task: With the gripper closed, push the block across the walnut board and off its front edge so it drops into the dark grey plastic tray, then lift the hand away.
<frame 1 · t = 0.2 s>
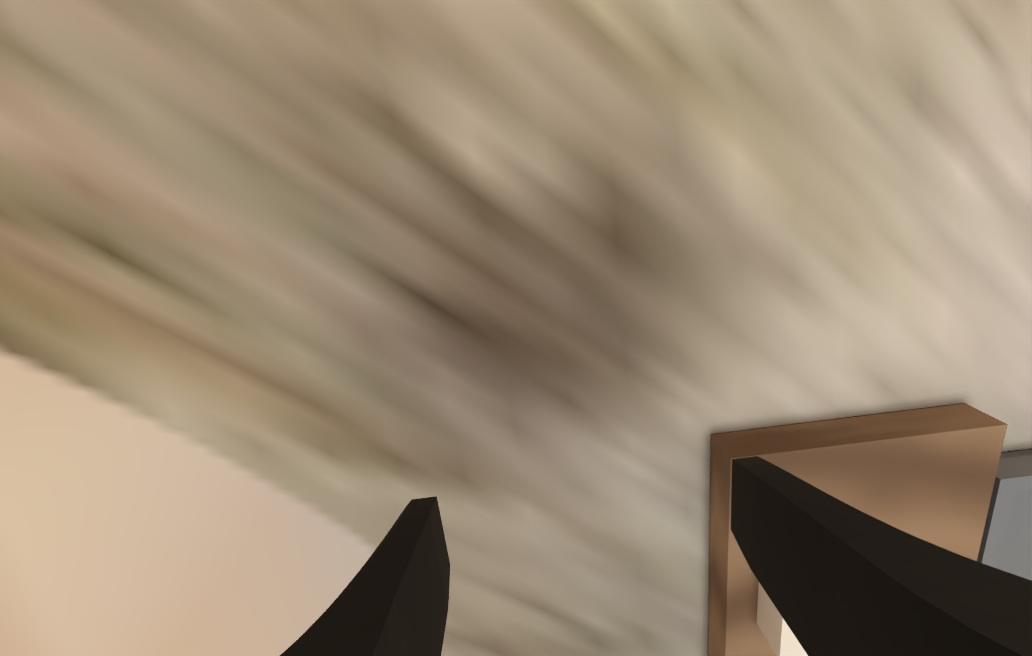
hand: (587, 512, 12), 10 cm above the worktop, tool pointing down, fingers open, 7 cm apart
block: (811, 575, 23), point 2 cm above the worktop, touching board
board: (822, 571, 26), on the worktop
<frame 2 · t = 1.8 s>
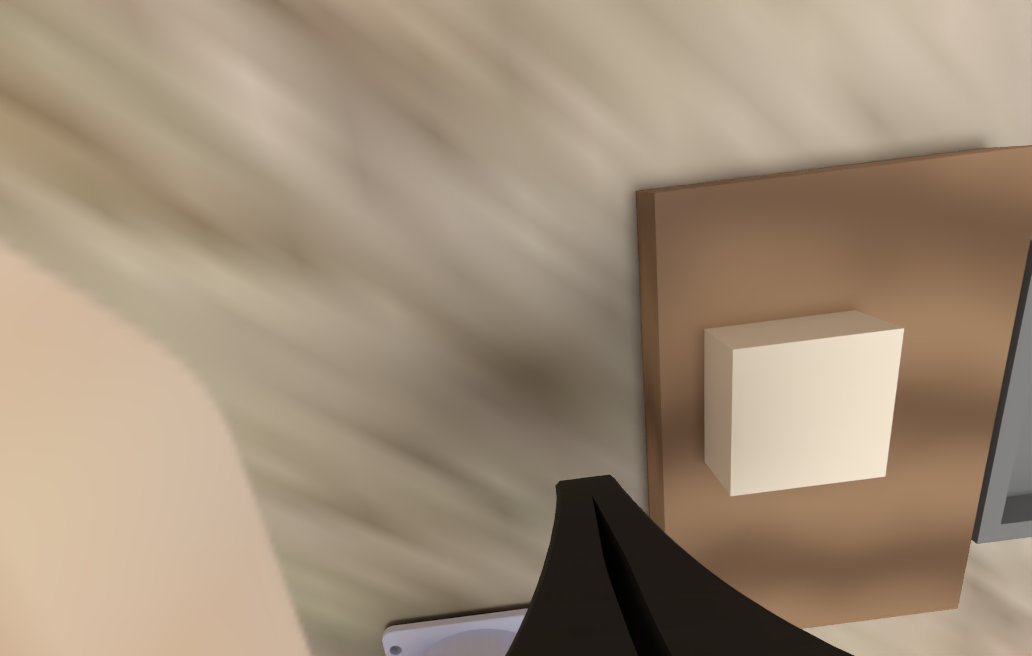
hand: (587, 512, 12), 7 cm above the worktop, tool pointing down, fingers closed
block: (776, 389, 17), point 2 cm above the worktop, touching board
board: (796, 407, 19), on the worktop
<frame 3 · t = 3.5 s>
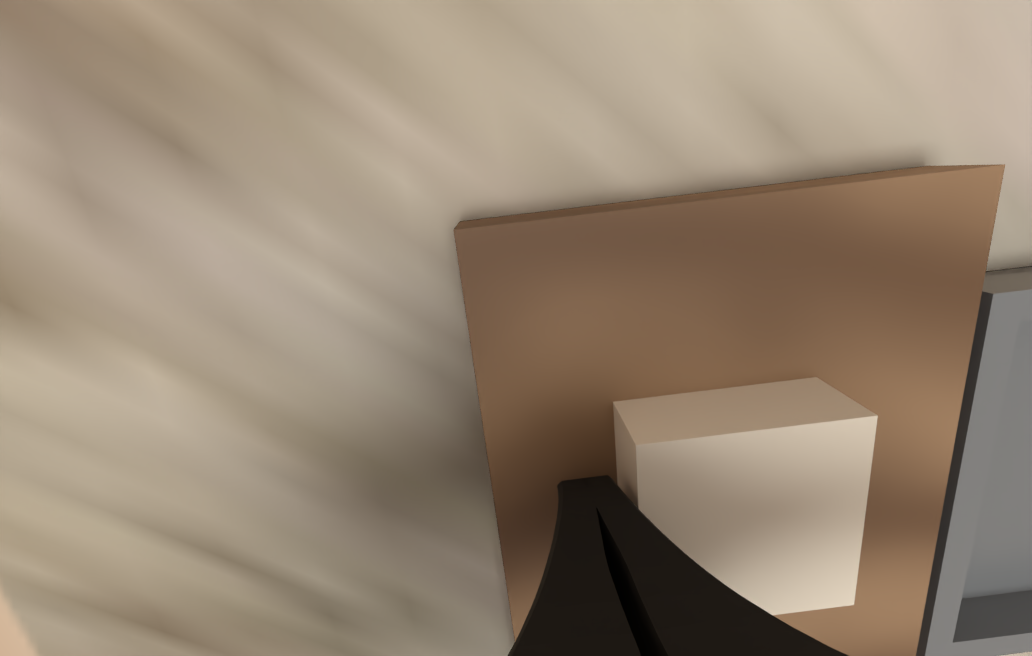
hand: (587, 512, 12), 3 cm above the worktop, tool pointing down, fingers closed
block: (713, 477, 13), point 2 cm above the worktop, touching board, gripper
board: (694, 492, 15), on the worktop
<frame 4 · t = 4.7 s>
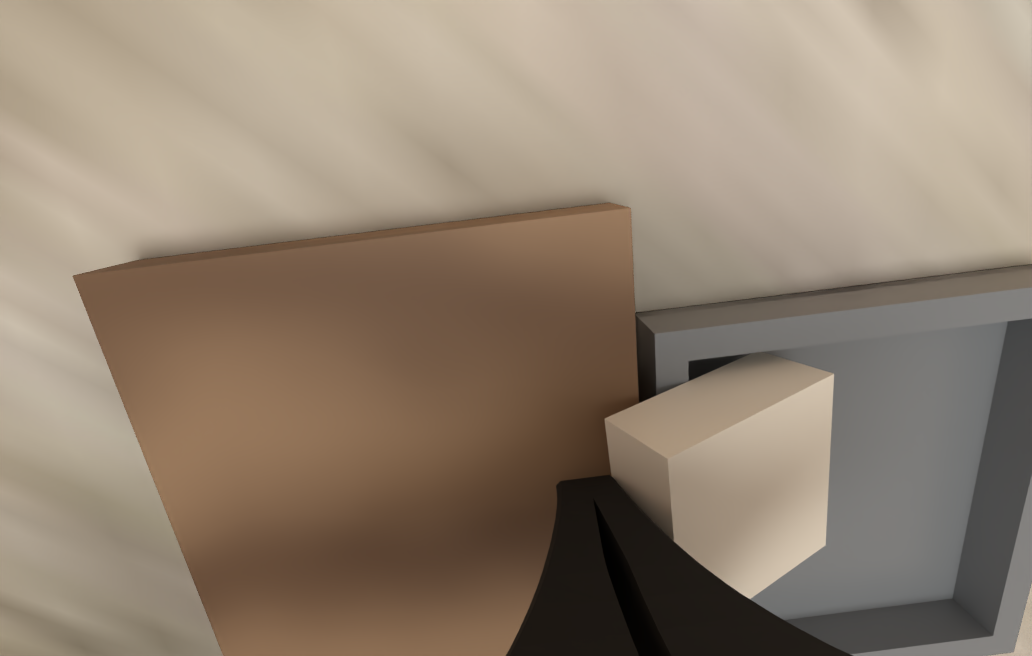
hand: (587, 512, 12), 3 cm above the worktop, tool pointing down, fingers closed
tray: (817, 476, 15), on the worktop
block: (692, 467, 13), point 2 cm above the worktop, tilted 24°, touching gripper
board: (433, 524, 15), on the worktop
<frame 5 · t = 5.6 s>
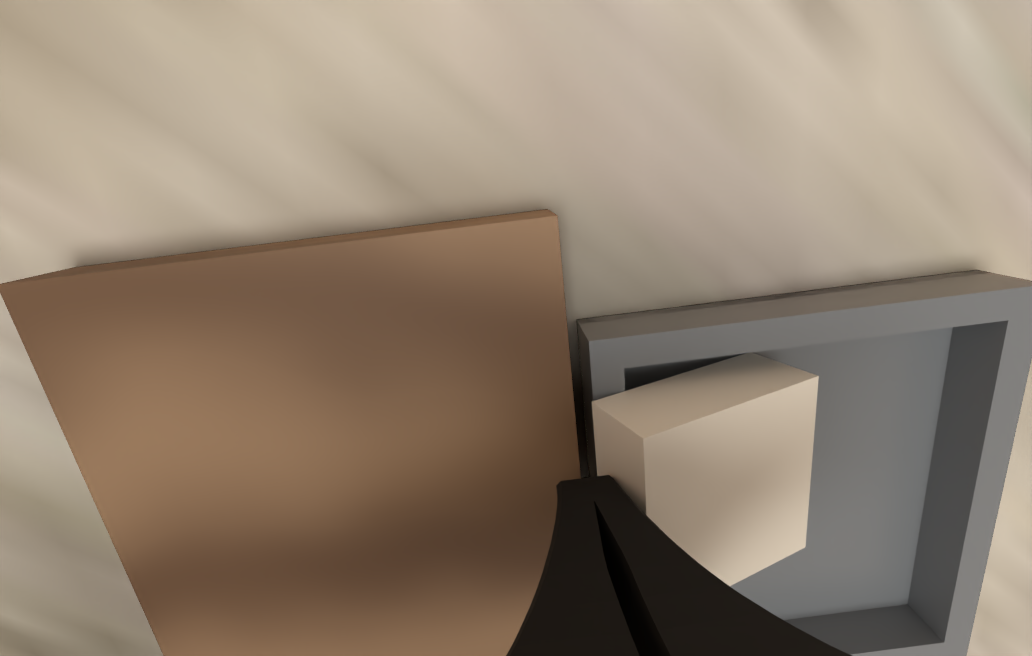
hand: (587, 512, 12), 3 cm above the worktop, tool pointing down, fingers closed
tray: (768, 482, 15), on the worktop
block: (677, 459, 13), point 1 cm above the worktop, tilted 20°, touching gripper, tray
board: (382, 531, 15), on the worktop
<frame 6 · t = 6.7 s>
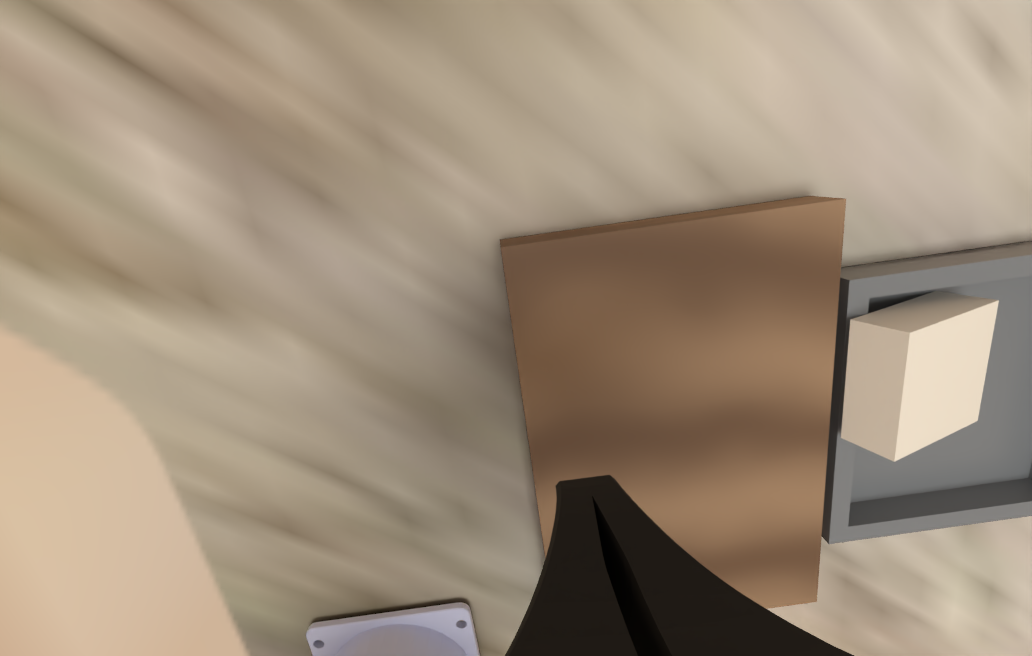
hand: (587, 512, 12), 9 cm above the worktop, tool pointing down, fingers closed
tray: (935, 386, 21), on the worktop
block: (888, 364, 20), point 1 cm above the worktop, tilted 20°, touching tray
board: (664, 424, 22), on the worktop
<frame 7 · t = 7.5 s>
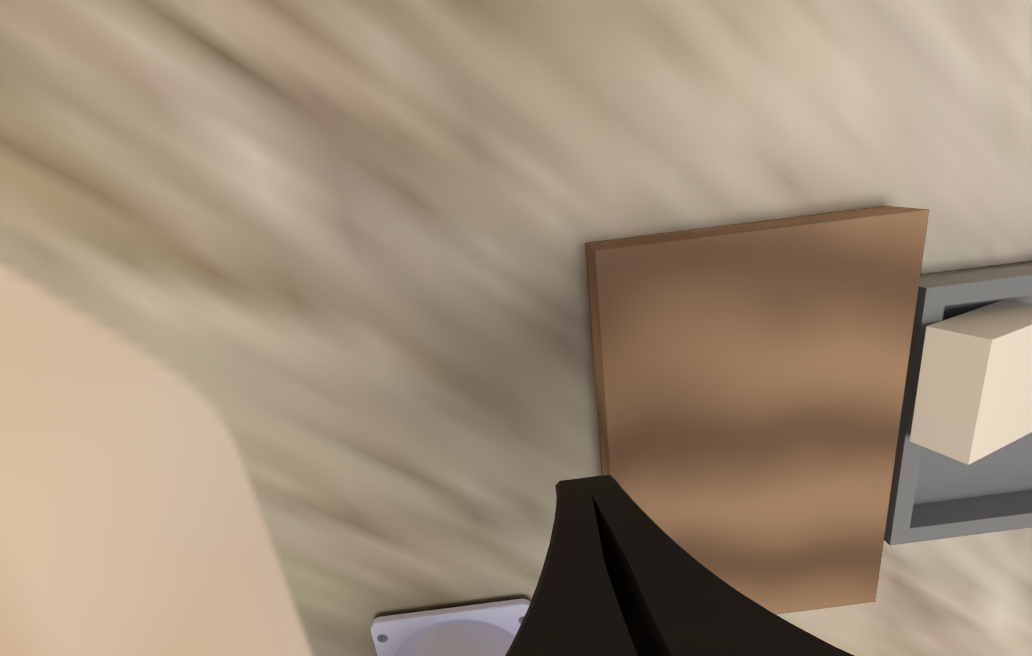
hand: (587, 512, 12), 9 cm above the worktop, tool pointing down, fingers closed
tray: (994, 393, 22), on the worktop
block: (956, 370, 20), point 1 cm above the worktop, tilted 20°, touching tray
board: (731, 426, 22), on the worktop
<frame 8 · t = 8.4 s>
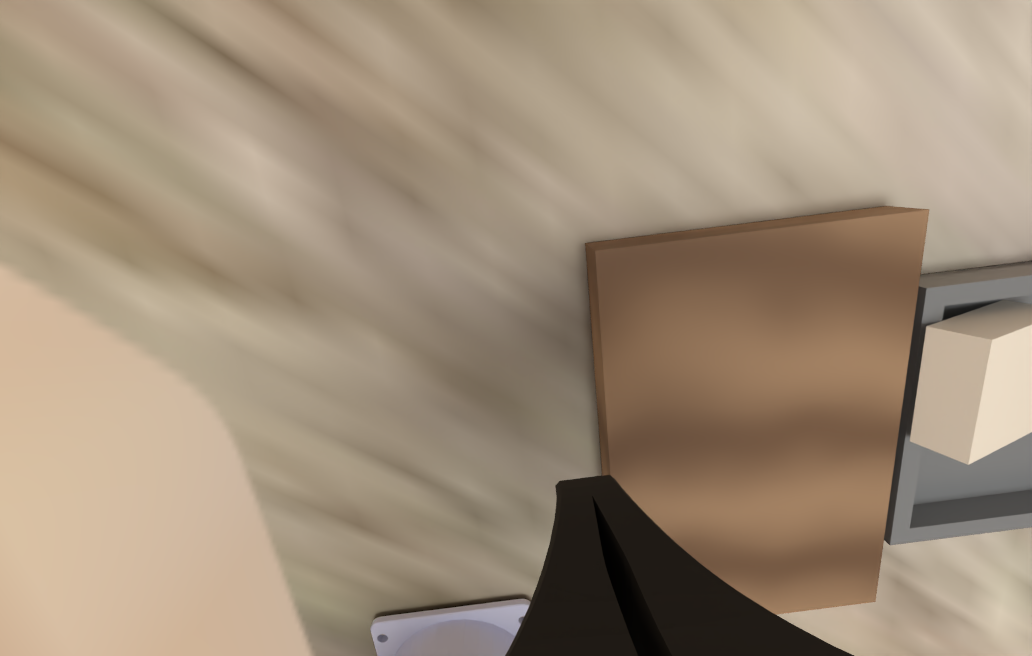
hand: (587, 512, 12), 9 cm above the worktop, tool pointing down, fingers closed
tray: (994, 393, 22), on the worktop
block: (956, 370, 20), point 1 cm above the worktop, tilted 20°, touching tray
board: (731, 426, 22), on the worktop
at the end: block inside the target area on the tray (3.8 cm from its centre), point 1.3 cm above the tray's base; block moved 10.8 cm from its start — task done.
